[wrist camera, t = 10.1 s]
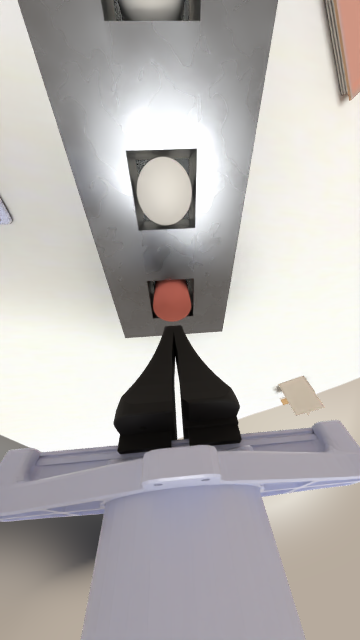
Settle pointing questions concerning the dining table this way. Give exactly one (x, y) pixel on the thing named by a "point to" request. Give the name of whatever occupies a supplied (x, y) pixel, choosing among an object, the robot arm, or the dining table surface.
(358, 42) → the notebook
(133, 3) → the plug
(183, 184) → the plug
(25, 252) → the dining table surface
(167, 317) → the red plug
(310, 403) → the architectural model
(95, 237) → the block
